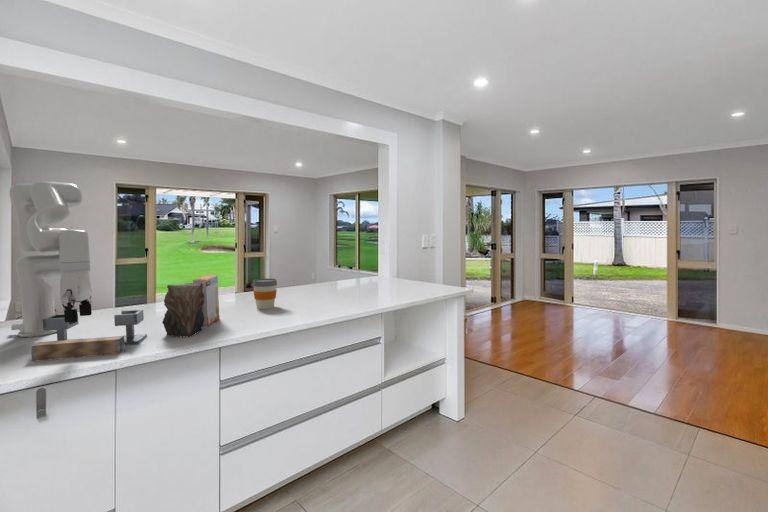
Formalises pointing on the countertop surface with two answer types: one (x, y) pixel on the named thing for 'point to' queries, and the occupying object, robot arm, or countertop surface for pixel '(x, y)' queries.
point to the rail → (77, 348)
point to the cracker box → (209, 298)
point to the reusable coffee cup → (265, 293)
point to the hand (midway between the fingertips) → (78, 318)
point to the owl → (184, 309)
